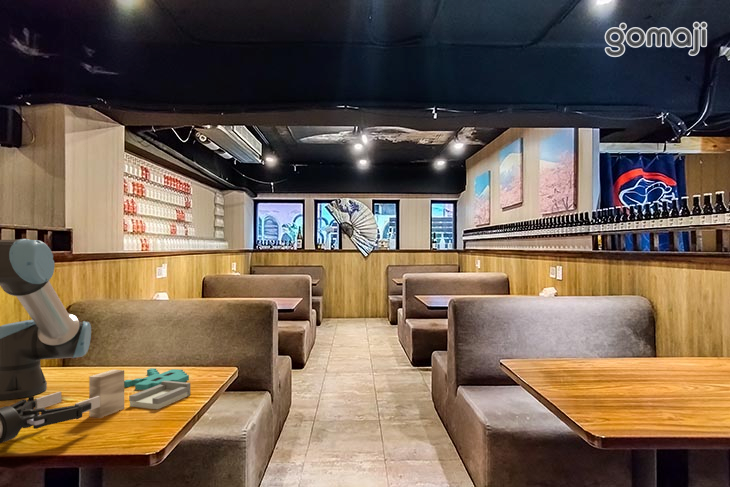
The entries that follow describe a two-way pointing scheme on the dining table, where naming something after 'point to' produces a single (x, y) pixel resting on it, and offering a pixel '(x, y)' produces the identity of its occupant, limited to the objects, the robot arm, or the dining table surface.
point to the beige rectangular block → (107, 392)
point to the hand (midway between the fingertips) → (79, 398)
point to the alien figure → (157, 378)
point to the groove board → (152, 406)
